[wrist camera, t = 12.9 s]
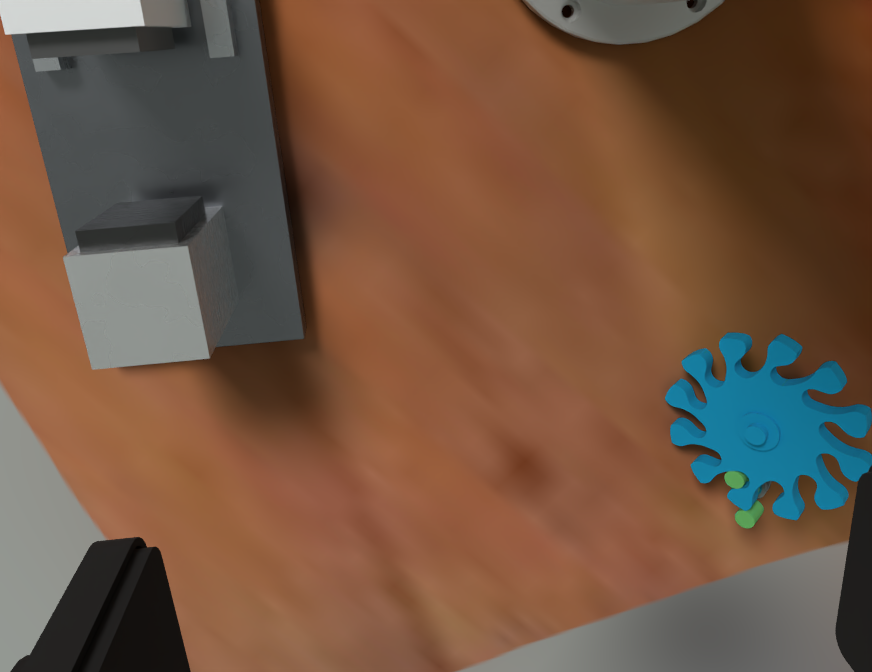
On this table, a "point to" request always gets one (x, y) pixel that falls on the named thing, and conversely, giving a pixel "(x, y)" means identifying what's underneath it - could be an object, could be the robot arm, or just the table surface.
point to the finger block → (94, 25)
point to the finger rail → (171, 190)
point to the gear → (768, 428)
